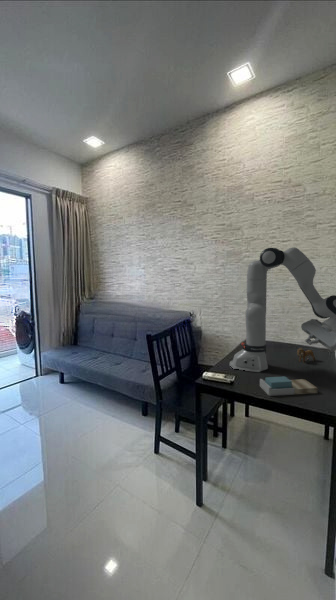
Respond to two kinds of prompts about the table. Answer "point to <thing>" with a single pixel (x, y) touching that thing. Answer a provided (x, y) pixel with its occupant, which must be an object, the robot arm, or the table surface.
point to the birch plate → (303, 387)
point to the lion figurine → (305, 354)
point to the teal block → (278, 382)
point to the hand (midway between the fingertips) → (307, 342)
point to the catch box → (276, 391)
